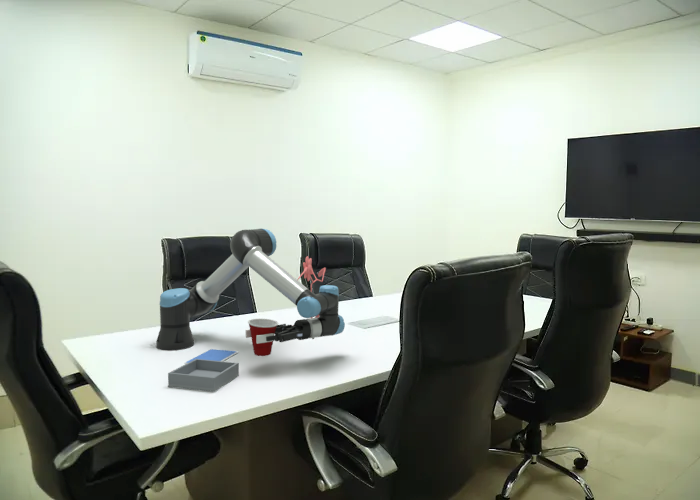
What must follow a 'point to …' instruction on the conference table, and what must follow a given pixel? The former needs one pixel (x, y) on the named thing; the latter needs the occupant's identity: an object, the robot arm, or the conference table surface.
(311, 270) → the figurine
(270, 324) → the plastic cup
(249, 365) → the conference table surface
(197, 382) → the bin
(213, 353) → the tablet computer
